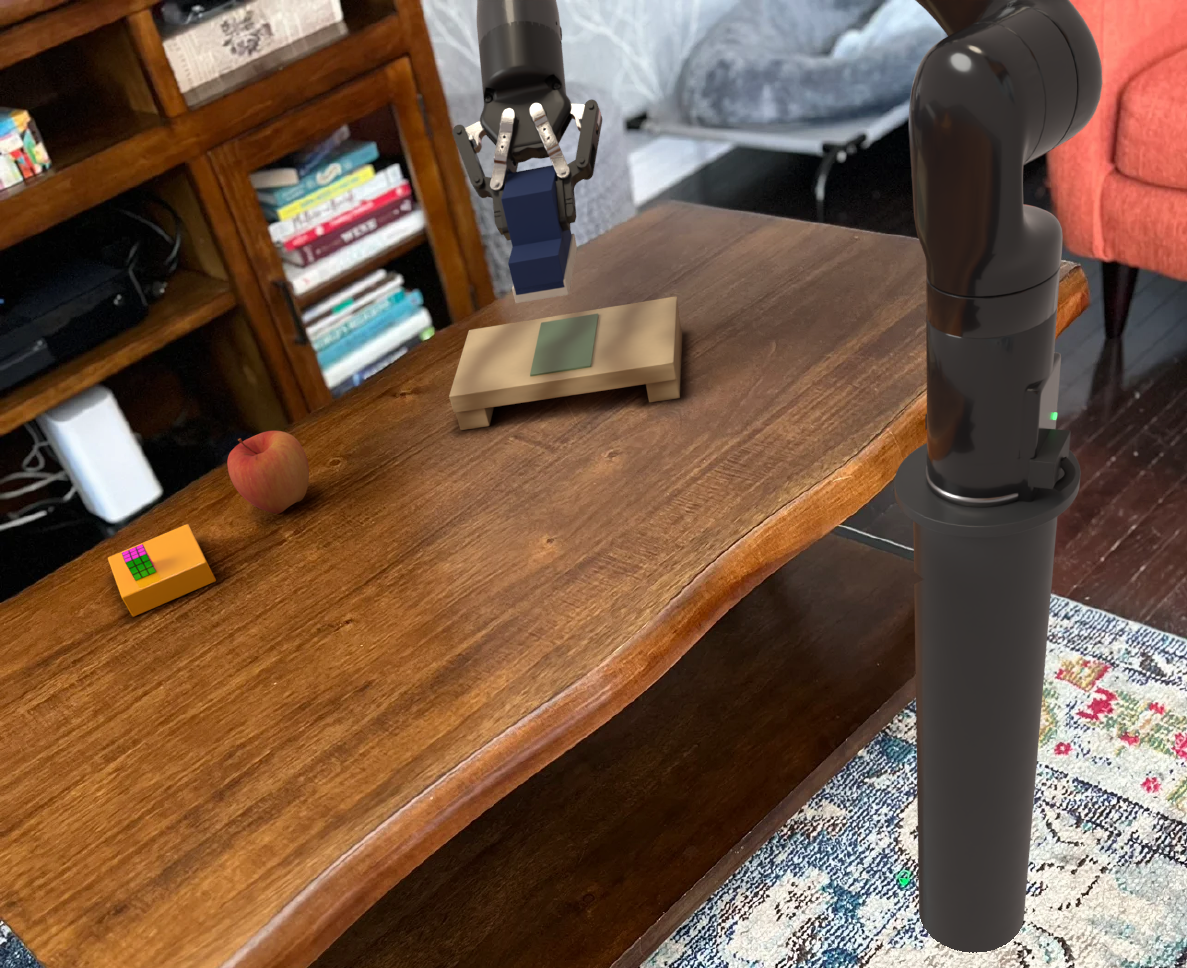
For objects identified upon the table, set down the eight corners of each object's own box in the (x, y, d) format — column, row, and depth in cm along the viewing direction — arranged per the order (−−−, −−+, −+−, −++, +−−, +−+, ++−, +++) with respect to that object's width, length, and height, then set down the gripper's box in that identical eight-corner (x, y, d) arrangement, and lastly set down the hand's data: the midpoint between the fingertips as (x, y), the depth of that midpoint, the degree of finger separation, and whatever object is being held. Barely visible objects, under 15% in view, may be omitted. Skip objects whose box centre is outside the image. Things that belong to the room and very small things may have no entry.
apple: (336, 494, 118) (306, 419, 113) (278, 534, 115) (245, 460, 109) (291, 477, 122) (260, 404, 117) (234, 515, 119) (199, 442, 114)
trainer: (526, 257, 119) (506, 171, 113) (577, 248, 118) (559, 161, 112) (515, 304, 112) (493, 215, 106) (569, 295, 111) (550, 205, 105)
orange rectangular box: (118, 576, 115) (96, 539, 112) (198, 542, 117) (178, 504, 114) (132, 617, 110) (110, 579, 107) (216, 581, 111) (196, 542, 108)
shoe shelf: (682, 333, 127) (676, 294, 124) (679, 401, 118) (673, 360, 115) (478, 365, 131) (468, 328, 128) (459, 433, 122) (448, 394, 119)
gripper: (431, 35, 109) (449, 228, 109) (589, 2, 106) (607, 200, 106) (456, 80, 116) (472, 261, 116) (604, 51, 113) (621, 236, 114)
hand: (536, 231), depth 111 cm, fingers closed on trainer, 4 cm apart
